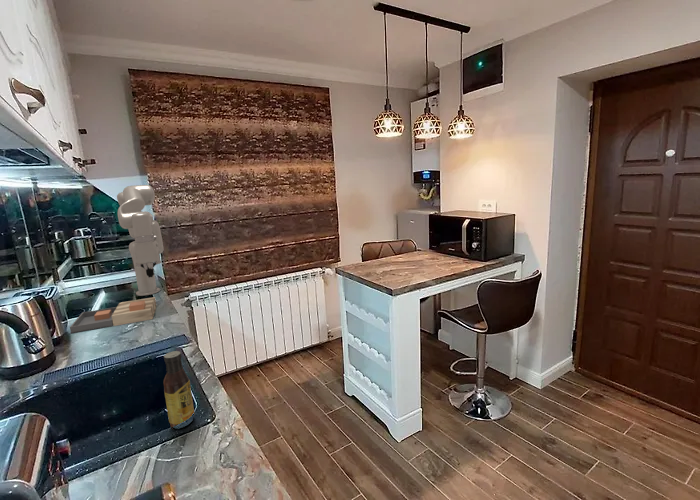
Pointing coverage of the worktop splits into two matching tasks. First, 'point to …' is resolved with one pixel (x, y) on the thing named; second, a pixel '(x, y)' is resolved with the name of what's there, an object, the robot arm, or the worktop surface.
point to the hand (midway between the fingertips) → (150, 276)
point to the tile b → (137, 305)
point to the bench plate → (133, 312)
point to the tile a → (103, 315)
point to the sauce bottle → (177, 390)
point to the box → (91, 321)
